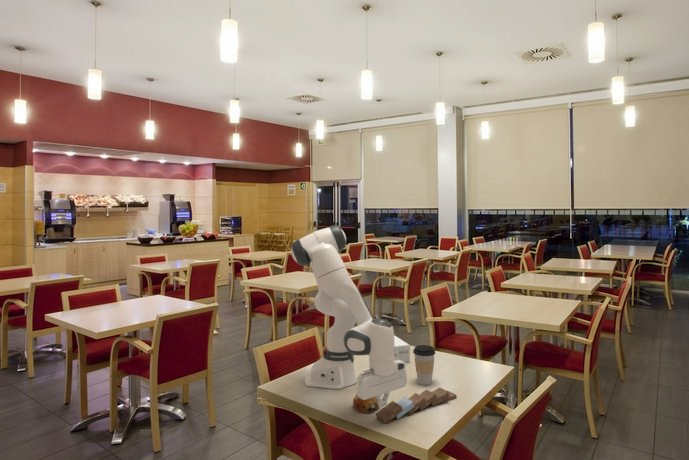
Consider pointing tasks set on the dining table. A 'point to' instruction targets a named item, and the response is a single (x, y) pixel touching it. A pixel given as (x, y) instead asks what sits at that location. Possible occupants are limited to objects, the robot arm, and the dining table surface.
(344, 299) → the robot arm
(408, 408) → the domino
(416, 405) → the domino
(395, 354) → the supplement box
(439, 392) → the domino
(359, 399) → the bread roll
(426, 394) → the domino
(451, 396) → the domino
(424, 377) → the coffee cup
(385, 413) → the domino
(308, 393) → the dining table surface
